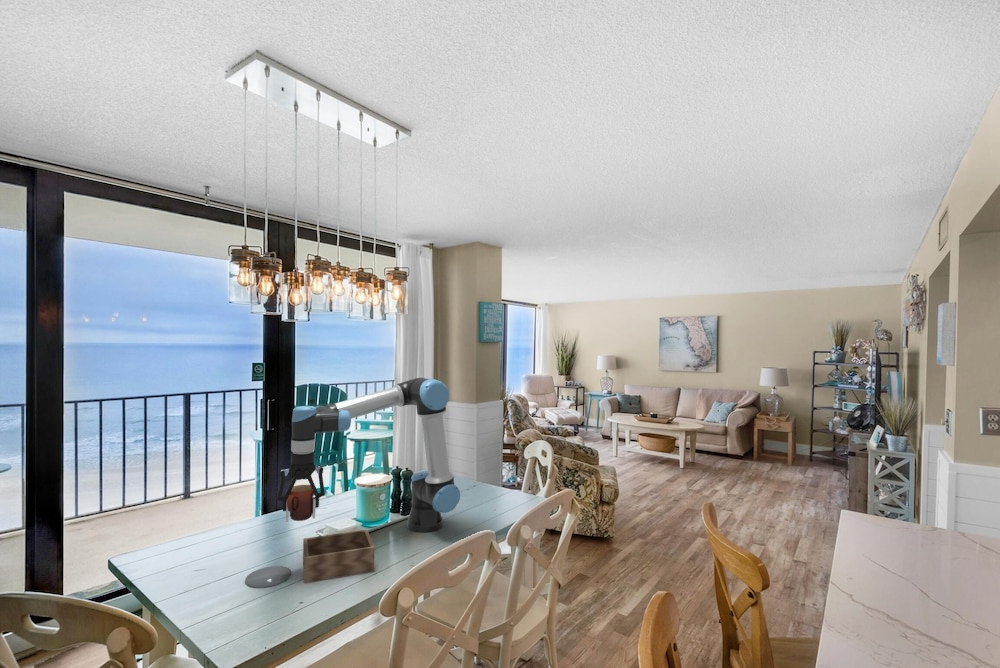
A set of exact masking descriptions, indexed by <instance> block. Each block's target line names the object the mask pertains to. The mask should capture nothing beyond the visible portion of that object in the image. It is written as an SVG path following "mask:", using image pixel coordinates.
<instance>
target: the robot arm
mask: <svg viewBox="0 0 1000 668" xmlns="http://www.w3.org/2000/svg"><path fill="white" fill-rule="evenodd" d="M449 400H450V392H449V388H448V387H447V385H446V384H445V383H444V382H443V381H441V380H437V379H436V378H426V377H416V378H412V379H409V380H405V381H403V382H402V381H401V382H399V383H395V384H393V386H392V387H390V388H386V389H383V390H379V391H375V392H371V393H369V394H365V395H361V396H357V397H353V398H349V399H346V400H342V401H339V402H334V403H331V404H328V405H317V406H311V405H303V406H302V405H301V406H296V407H294V409H293V410H292V417H291V442H290V443H291V444H290V447H291V448H290V451H291V454H290V466H289V468H287V469H284V468H283V469H281V470H280V482H279V486H278V492H277V495H276V500H277V501H281V502H282V512H285V522H289V517H290V512H289V511H288V508H287V499H288V497H289V496H290V493H291V490H292V488H293V486H295V484H296V482H297V481H300V480H307V481H308V482H309V485H310V486H311V488H312V489H314V490H313V493H314V494H313V513H312V516H311V517H312V519H316V509H317V508H319V507H320V498H322V497H325V496H326V493H325V485H324V479H323V474H324V467H323V466H316V465H315V450H316V448H315V447H316V446H315V445H316V434H325V433H341V432H346V431H349V429H350V428H351V423H352V419H355V418H358V417H361V416H365V415H369V414H371V413H377V412H380V411H382V410H386V409H389V408H392V407H393V408H394V407H396V406H397V407H401V408H402V407H405V406H416V413H417V416H419V417H420V418H421V424H422V433H423V442H424V450H425V451H424V452H425V457H426V458H425V459H426V467H427V470H422V471H417V472H415V473H413V474H412V477H411V482H410V483H411V509H410V512H409V515H408V518H407V524H406V526H407V529H408V530H410V531H411V532H418V533H428V532H434V531H437V530H439V529H441V528H442V527H443V523H444V522H443V517H442V514H447V513H450V512H452V511H453V510H454V509H456V507H457V505H459V502H460V500H461V491H460V488H459V487H458V486H457V485H455V479H454V474H453V473H452V472H450V467H449V459H448V449H447V442H446V441H447V440H446V431H445V423H444V414H445V412H447V409H446V408H447V407H446V406H447V404H448V402H449ZM314 471H315V472H316V474H318V484H319V488H320V490H319V492H318V489H317V487H316V485H315V482H314V480H313V477H312V474H313V473H314ZM288 473H290V475H291V476H292V477H291V480H290V482H289V484H288V487H287V489H286V491H285V493H284V495H283V490H284V485H285V482H286V477H287V476H288Z"/></svg>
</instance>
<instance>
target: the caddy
mask: <svg viewBox="0 0 1000 668" xmlns="http://www.w3.org/2000/svg"><path fill="white" fill-rule="evenodd" d="M302 539H303V541H302V542H303V544H302V545H303V547H302V566H303V583H304V584H308V583H312V582H318V581H325V580H329V579H330V580H331V579H335V578H340V577H347V576H352V575H357V574H363V573H369V572H370V573H371V572H375V551H376V549H375V545H374V543H373V541H372V538H371V535H370V533H369V530H368V529H361V530H353V531H349V532H339V533H334V534H327V535H319V536H312V537H305V538H302Z"/></svg>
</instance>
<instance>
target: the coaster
mask: <svg viewBox="0 0 1000 668" xmlns="http://www.w3.org/2000/svg"><path fill="white" fill-rule="evenodd" d="M292 573H293V572H292V569H291V568H290V567H287V566H284V565H273V566H267V567H263V568H258V569H256V570H254V571H252V572H250V573H249V574H248V575H247V576H246V577H245V579H244V580H245V582H244V584H245V585H246V586H247V587H250V588H254V589H264V588H269V587H275V586H278V585H281V584H282V583H285V581H286V582H287V580H289V579H290V578H292V577H291V576H292Z"/></svg>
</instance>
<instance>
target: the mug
mask: <svg viewBox="0 0 1000 668" xmlns="http://www.w3.org/2000/svg"><path fill="white" fill-rule="evenodd" d="M313 490H314V489H312V488H311V486H310V484H298V485H294V486H293V488H292V490H291V493H290V495H289V497H288V499H287V508H288V511H289V517H290V519H291V520H292V521H295V522H301V521H307V520H309V519H310V518H311V517H312V513H313V497H314V493H313Z"/></svg>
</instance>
